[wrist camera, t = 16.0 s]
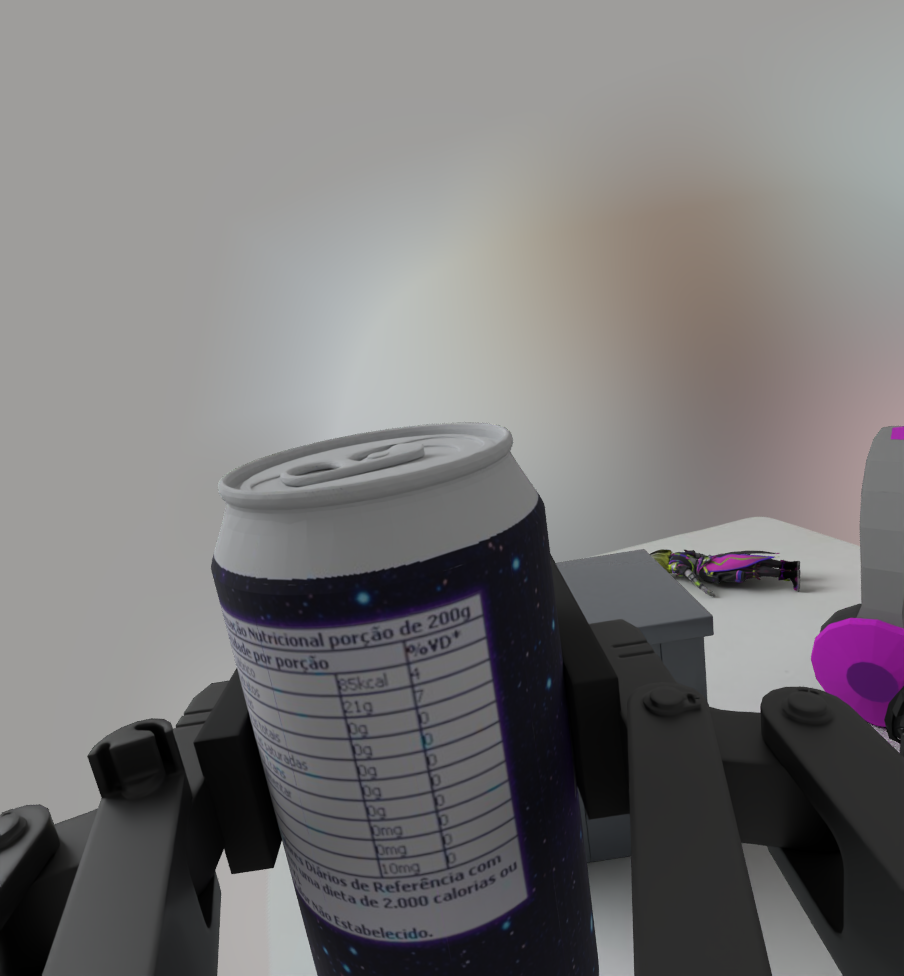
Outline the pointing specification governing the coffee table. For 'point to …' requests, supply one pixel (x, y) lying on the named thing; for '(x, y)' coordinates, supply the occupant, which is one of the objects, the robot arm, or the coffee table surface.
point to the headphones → (872, 594)
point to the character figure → (727, 567)
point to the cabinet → (667, 628)
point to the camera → (896, 719)
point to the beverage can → (411, 701)
